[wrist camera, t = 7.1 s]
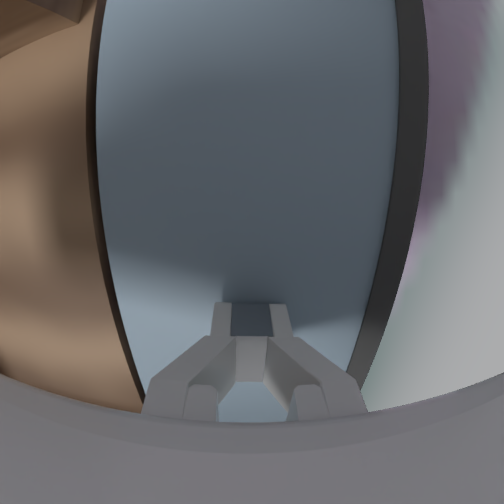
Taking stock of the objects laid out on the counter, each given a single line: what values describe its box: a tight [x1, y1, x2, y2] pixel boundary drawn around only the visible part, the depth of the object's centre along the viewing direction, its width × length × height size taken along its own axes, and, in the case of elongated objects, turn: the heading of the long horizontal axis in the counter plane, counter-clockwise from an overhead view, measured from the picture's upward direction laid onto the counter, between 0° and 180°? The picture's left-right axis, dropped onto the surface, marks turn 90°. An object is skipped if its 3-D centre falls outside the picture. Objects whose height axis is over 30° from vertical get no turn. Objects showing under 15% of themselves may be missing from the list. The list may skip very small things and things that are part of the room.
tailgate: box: [96, 0, 429, 422], centre depth 10 cm, size 22×2×9 cm
